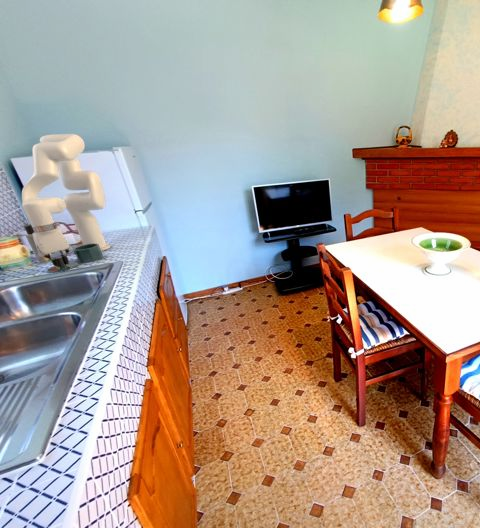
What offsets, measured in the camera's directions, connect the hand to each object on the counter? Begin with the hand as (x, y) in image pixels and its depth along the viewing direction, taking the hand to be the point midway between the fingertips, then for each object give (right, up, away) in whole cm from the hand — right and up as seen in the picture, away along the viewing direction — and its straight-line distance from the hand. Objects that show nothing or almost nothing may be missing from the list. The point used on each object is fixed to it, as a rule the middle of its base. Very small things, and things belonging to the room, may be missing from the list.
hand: (62, 264), depth 143 cm
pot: (+6, +2, +10) cm, 12 cm away
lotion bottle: (-18, +1, +11) cm, 21 cm away
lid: (0, -1, +1) cm, 1 cm away
